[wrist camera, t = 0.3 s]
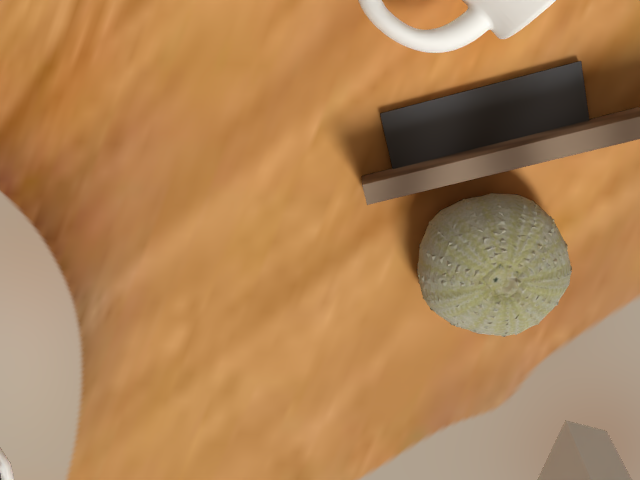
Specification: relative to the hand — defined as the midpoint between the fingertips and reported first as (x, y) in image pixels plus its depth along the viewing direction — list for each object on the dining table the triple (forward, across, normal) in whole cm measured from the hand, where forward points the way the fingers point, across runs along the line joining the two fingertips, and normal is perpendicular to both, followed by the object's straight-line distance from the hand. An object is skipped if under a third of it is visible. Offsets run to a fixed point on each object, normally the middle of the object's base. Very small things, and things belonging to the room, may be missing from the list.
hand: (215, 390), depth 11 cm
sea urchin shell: (+26, +11, -5) cm, 29 cm away
